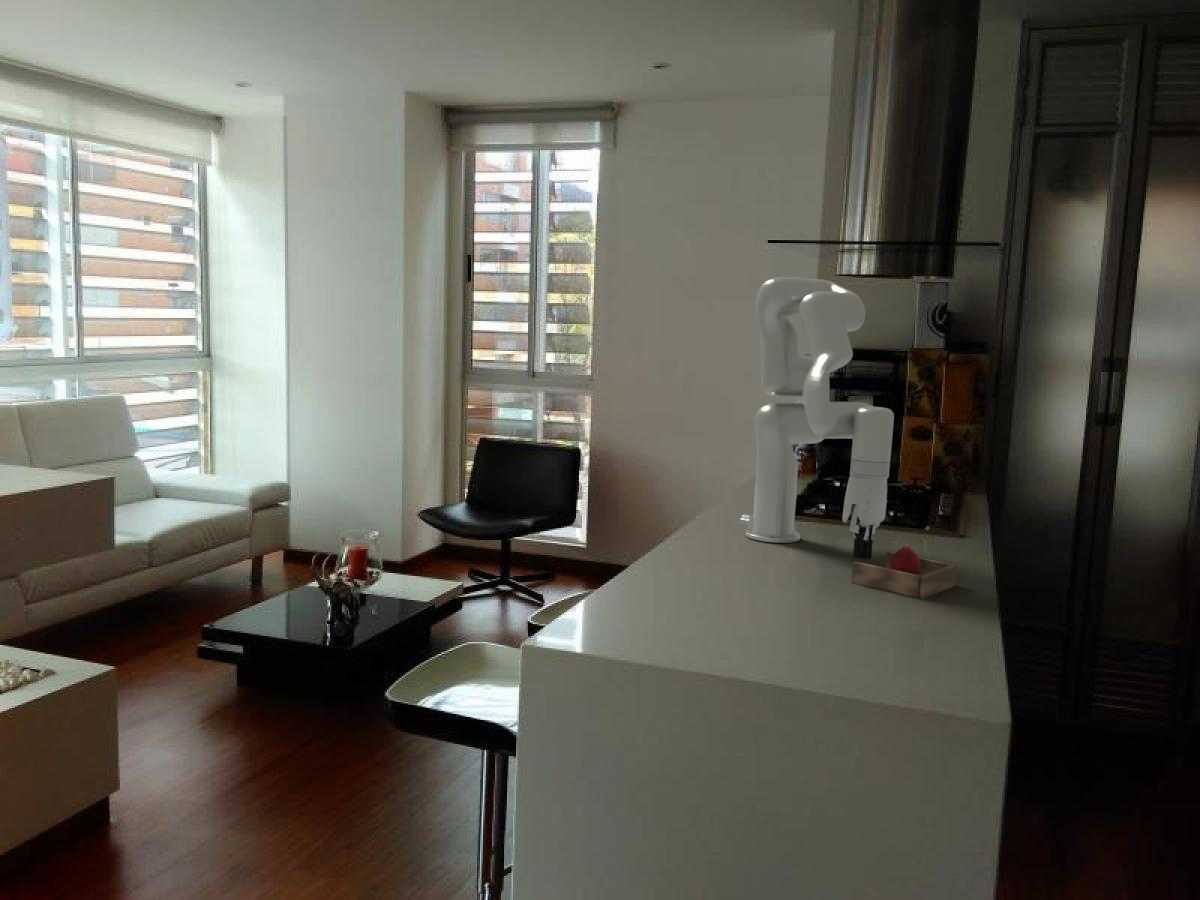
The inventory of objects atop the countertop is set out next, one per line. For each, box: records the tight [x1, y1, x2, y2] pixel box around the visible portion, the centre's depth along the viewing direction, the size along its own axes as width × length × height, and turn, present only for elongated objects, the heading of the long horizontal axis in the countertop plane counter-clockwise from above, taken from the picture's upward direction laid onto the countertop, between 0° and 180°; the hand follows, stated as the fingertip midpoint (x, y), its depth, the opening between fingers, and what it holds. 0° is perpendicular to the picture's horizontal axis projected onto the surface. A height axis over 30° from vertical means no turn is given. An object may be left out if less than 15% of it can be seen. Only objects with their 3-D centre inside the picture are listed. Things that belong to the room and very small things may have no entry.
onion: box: [890, 543, 921, 575], centre depth 187 cm, size 6×6×8 cm
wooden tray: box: [851, 550, 959, 600], centre depth 188 cm, size 15×15×4 cm
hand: (862, 557), depth 194 cm, fingers closed
